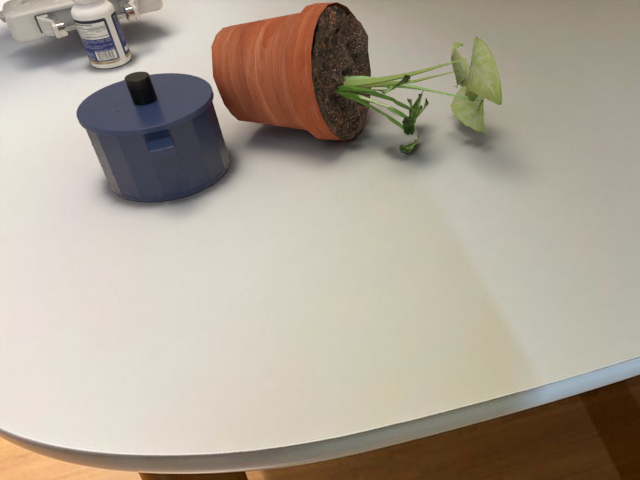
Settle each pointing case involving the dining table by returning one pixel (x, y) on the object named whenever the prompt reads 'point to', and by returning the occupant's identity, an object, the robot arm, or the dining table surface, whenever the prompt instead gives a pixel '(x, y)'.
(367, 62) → the potted plant
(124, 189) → the pot
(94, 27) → the pill bottle
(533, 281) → the dining table surface
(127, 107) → the pot lid
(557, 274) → the dining table surface
